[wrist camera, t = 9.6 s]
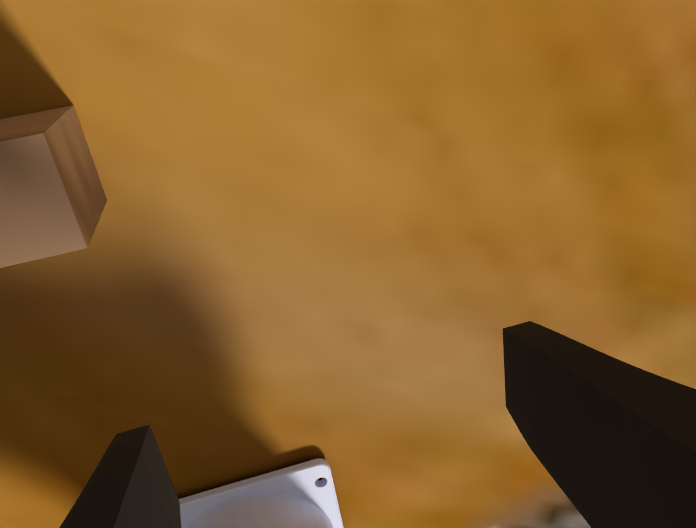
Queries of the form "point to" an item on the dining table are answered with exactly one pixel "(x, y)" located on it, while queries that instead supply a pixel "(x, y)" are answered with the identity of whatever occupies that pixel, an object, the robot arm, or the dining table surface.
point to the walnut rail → (46, 186)
